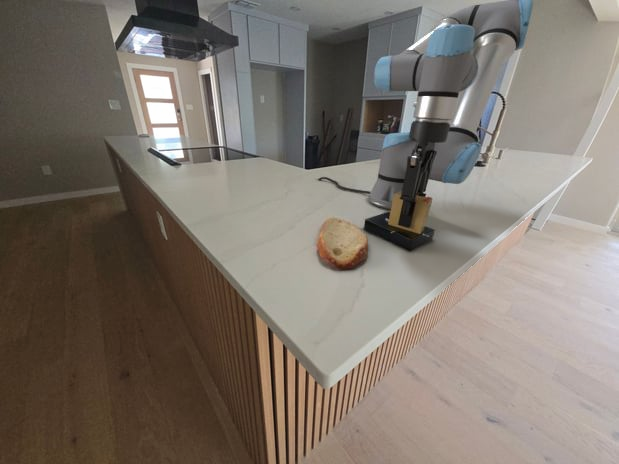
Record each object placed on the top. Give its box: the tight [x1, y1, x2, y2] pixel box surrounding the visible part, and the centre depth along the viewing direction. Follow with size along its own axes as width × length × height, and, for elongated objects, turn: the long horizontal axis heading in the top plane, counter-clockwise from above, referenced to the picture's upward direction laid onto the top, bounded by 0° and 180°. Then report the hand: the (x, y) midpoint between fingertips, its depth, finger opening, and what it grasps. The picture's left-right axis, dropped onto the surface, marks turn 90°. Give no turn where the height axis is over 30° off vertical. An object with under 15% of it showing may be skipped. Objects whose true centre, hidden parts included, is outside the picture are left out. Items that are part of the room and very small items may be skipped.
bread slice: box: [316, 217, 369, 270], centre depth 60 cm, size 18×18×4 cm
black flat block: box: [363, 211, 436, 252], centre depth 65 cm, size 15×12×3 cm
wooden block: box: [388, 191, 433, 234], centre depth 62 cm, size 8×4×8 cm, turn 53°
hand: (406, 223), depth 63 cm, fingers closed on wooden block, 4 cm apart
